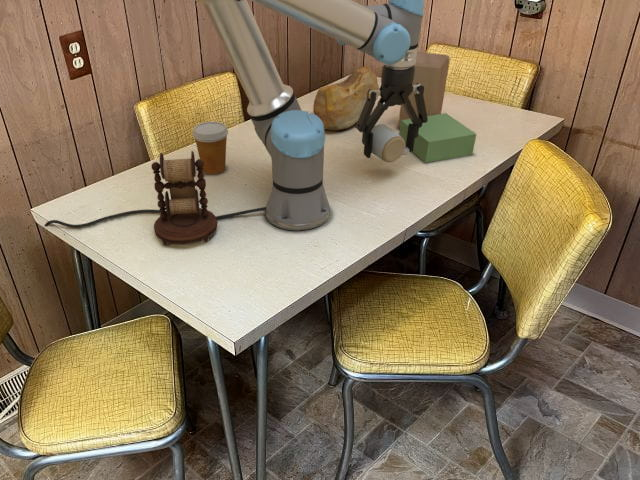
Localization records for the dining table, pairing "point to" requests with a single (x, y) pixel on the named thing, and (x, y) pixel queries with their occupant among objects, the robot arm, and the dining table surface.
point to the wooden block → (429, 83)
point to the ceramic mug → (387, 143)
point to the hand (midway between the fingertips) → (388, 152)
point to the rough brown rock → (344, 99)
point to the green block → (440, 138)
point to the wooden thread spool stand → (182, 202)
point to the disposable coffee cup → (211, 145)
